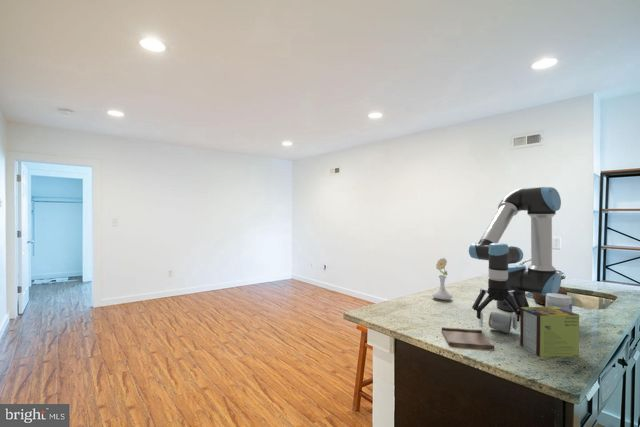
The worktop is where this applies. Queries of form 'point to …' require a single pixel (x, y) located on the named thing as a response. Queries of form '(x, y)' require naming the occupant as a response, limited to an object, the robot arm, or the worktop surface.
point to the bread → (542, 299)
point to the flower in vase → (442, 282)
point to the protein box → (549, 331)
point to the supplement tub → (559, 301)
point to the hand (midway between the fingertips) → (497, 327)
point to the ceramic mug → (500, 321)
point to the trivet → (466, 338)
